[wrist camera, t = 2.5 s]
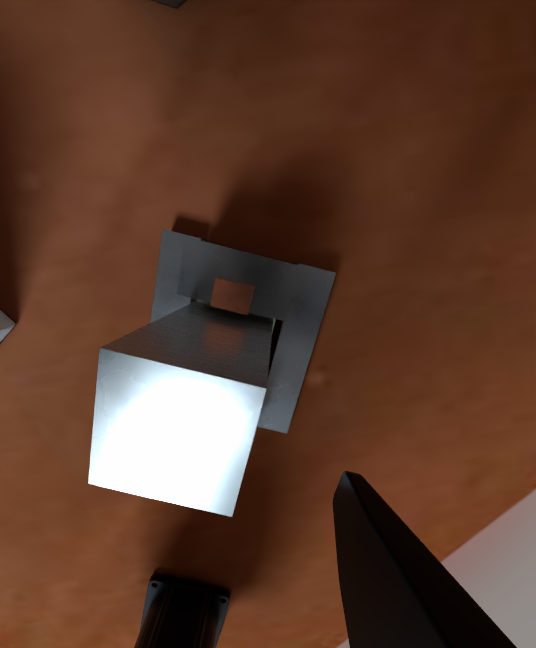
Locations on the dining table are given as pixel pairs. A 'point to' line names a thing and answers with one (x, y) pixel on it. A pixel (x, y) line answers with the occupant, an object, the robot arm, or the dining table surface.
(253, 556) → the dining table surface
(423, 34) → the dining table surface
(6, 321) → the tea box
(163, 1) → the beer bottle
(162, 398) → the grey rectangular block
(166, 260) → the grey square frame
